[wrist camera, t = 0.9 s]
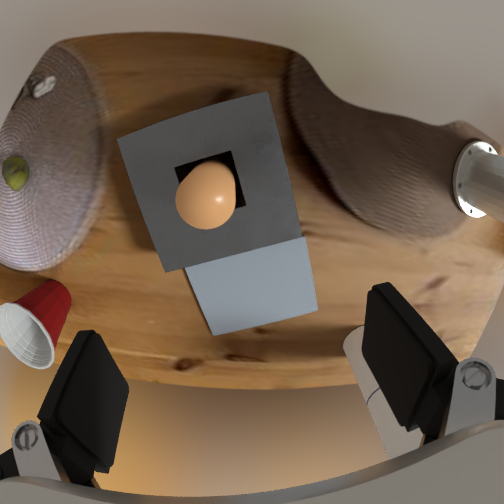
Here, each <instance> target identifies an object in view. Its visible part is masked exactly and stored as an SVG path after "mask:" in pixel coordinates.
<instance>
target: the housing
mask: <svg viewBox="0 0 504 504" xmlns="http://www.w3.org/2000/svg"><path fill="white" fill-rule="evenodd" d="M117 141H118V145H119V148H120V151H121V154H122V158H123V161H124V164H125V167H126V170H127V173H128V176H129V179H130V182H131V185H132V188H133V190H134V193H135V196H136V199H137V202H138V204H139V207H140V210H141V212H142V215H143V218H144V220H145V223H146V226H147V228H148V231H149V233H150V236H151V239H152V241H153V244H154V246H155V248H156V251H157V253H158V256H159V258H160V261H161V263H162V265H163V268H164V270H165V272H170V271H174V270H178V269H182V268H185V267H189V266H193V265H197V264H201V263H204V262H208V261H212V260H216V259H220V258H224V257H227V256H231V255H235V254H239V253H243V252H246V251H250V250H254V249H258V248H262V247H266V246H269V245H273V244H277V243H281V242H285V241H289V240H292V239H296V238H300V237H302V233H301V228H300V224H299V219H298V214H297V209H296V205H295V200H294V196H293V191H292V187H291V182H290V178H289V173H288V169H287V165H286V161H285V157H284V152H283V148H282V144H281V140H280V136H279V132H278V128H277V124H276V120H275V117H274V113H273V109H272V105H271V102H270V98H269V94H268V91H266V92H262V93H257V94H253V95H249V96H244V97H240V98H236V99H232V100H229V101H225V102H221V103H218V104H214V105H211V106H207V107H204V108H200V109H197V110H194V111H191V112H188V113H185V114H182V115H179V116H176V117H173V118H170V119H167V120H164V121H161V122H159V123H156V124H153V125H151V126H148V127H145V128H143V129H140V130H138V131H135V132H133V133H130V134H128V135H125V136H123V137H121V138H118V139H117ZM230 150H231V152H232V155H233V159H234V162H235V166H236V170H237V173H238V177H239V180H240V184H241V188H242V191H243V195H242V196H239V197H236V202H235V208H234V211H233V213H232V215H231V216H230V218H229V219H228V220H227V221H226V222H225V223H224V224H222V225H221V226H219V227H216V228H213V229H199V228H195V227H193V226H191V225H189V224H188V223H186V222H185V221H184V220H183V219H182V217H181V216H180V215H179V213H178V210H177V208H176V202H175V198H176V192H177V189H178V187H179V185H180V184H181V182H182V181H183V180H184V179H185V178H186V177H187V175H186V172H185V169H184V166H183V164H186V163H190V162H193V161H196V160H199V159H203V158H206V157H209V156H213V155H216V154H220V153H223V152H227V151H230Z"/></svg>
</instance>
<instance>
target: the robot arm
mask: <svg viewBox="0 0 504 504" xmlns="http://www.w3.org/2000/svg"><path fill="white" fill-rule="evenodd" d="M453 190H454V196H455V200H456V202H457V204H458V206H459V208H460V209H461V210H462V211H463V212H464V213H465V214H467V215H469V216H471V217H481V216H483V215H485V214H487V215H489V216H491V217H493V218H495V219H496V220H498V221H500V222H502V223H504V157H503V156H500V155H497V153H496V151H495V150H494V148H493V147H492V146H491V145H489V144H488V143H486V142H483V141H473V142H471V143H469V144H468V145H466V146H465V147H464V148H463V150H462V151H461V153H460V154H459V156H458V159H457V161H456V164H455V168H454V174H453ZM361 349H362V355H363V357H364V359H365V361H366V363H367V365H368V367H369V368H370V370H371V372H372V374H373V376H374V378H375V380H376V381H377V383H378V385H379V387H380V389H381V391H382V393H383V395H384V396H385V398H386V400H387V402H388V404H389V406H390V408H391V410H392V412H393V414H394V416H395V418H396V420H397V422H398V424H399V425H400V426H401V427H403V426H405V428H406V430H407V432H410V431H413V430H415V429H417V428H420V430H421V432H422V434H423V436H422V439H421V443H420V446H419V448H417V449H415V450H412V451H410V452H408V453H405V454H403V455H400V456H398V457H395V458H393V459H390V460H387V461H385V462H382V463H379V464H376V465H374V466H371V467H368V468H365V469H362V470H359V471H356V472H352V473H349V474H346V475H342V476H339V477H336V478H331V479H328V480H324V481H319V482H315V483H311V484H306V485H302V486H297V487H292V488H286V489H280V490H274V491H268V492H260V493H251V494H241V495H231V496H212V497H211V496H210V497H172V496H153V495H141V494H132V493H123V492H116V491H109V490H103V489H101V488H100V486H99V484H98V483H97V481H96V479H95V478H94V476H93V475H94V470H95V471H96V472H101V473H107V474H108V473H109V469H110V467H111V466H112V465H113V463H114V458H115V453H116V448H117V443H118V438H119V433H120V428H121V424H122V419H123V415H124V411H125V406H126V402H127V398H128V393H129V386H128V383H127V382H126V380H125V378H124V377H123V375H122V373H121V372H120V370H119V368H118V367H117V365H116V363H115V361H114V360H113V358H112V356H111V354H110V352H109V351H108V349H107V347H106V345H105V343H104V341H103V339H102V337H101V336H100V335H99V334H97V333H96V332H95V331H94V330H83V331H79V332H78V333H77V334H76V336H75V338H74V340H73V342H72V344H71V346H70V348H69V349H68V351H67V353H66V355H65V357H64V359H63V361H62V363H61V365H60V367H59V369H58V371H57V374H56V375H55V378H54V380H53V382H52V384H51V386H50V388H49V390H48V393H47V395H46V397H45V399H44V401H43V404H42V406H41V408H40V411H39V413H38V415H37V417H38V418H39V420H41V422H40V424H38V423H37V422H35V421H32V420H31V421H25V422H22V423H21V424H20V425H18V426H17V428H16V429H15V430H14V432H13V435H12V439H11V440H12V448H11V449H9V450H7V451H6V452H4V453H3V454H1V455H0V504H504V380H502V379H498V378H496V375H495V371H494V370H493V368H492V366H491V365H490V364H489V363H487V362H486V361H484V360H482V359H479V358H467V359H464V360H463V361H461V362H460V363H459V362H458V361H457V359H456V358H455V356H454V355H453V354H452V353H451V351H450V350H449V349H448V348H447V347H446V345H445V344H444V343H443V342H442V341H441V339H440V338H439V337H438V336H437V335H436V333H435V332H434V331H433V330H432V329H431V328H430V326H429V325H428V324H427V323H426V322H425V321H424V320H423V318H422V317H421V316H420V315H419V314H418V313H417V312H416V310H415V309H414V308H413V307H412V306H411V305H410V304H409V303H408V302H407V300H406V299H405V298H404V297H403V296H402V295H401V294H400V293H399V292H398V291H397V290H396V288H395V287H394V286H393V285H392V284H391V283H389V282H386V283H381V284H377V285H374V286H373V287H372V290H370V291H369V292H368V295H367V306H366V315H365V324H364V333H363V340H362V348H361Z"/></svg>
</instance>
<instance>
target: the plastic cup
mask: <svg viewBox="0 0 504 504" xmlns="http://www.w3.org/2000/svg"><path fill="white" fill-rule="evenodd" d="M70 306H71V296H70V293H69V292H68V290H67V288H66V287H65V286H64V285H63V284H61V283H60V282H58V281H55V280H50V281H47V282H45V283H43V284H42V285H40V286H39V287H37V288H35V289H34V290H32V291H30V292H29V293H27V294H26V295H24V296H23V297H21V298H20V299H18V300H17V301H14V302H11V303H10V302H7V303H5V304H3V305H1V306H0V336H1V338H2V340H3V341H4V343H5V344H6V346H7V347H8V349H9V350H10V351H11V352H12V353H13V354H14V355H15V356H16V357H17V358H18V359H19V360H20V361H22V362H24V363H25V364H27V365H29V366H30V367H33V368H37V369H45V368H49V367H50V365H51V364H52V363H53V361H54V351H55V347H56V345H57V340H58V338H59V335H60V333H61V330H62V328H63V325H64V323H65V320H66V316H67V314H68V312H69V309H70Z"/></svg>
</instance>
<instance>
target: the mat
mask: <svg viewBox="0 0 504 504" xmlns="http://www.w3.org/2000/svg"><path fill="white" fill-rule="evenodd" d="M185 270H186V272H187V275H188V277H189V280H190V282H191V285H192V287H193V290H194V292H195V294H196V297H197V299H198V301H199V304H200V306H201V309H202V311H203V313H204V315H205V318H206V320H207V322H208V325H209V327H210V329H211V331H212V334H213V336H216V335H220V334H225V333H230V332H234V331H239V330H243V329H247V328H252V327H256V326H260V325H264V324H268V323H272V322H276V321H280V320H284V319H288V318H292V317H295V316H299V315H303V314H307V313H310V312H314V311H317V310H318V306H317V300H316V294H315V288H314V282H313V276H312V271H311V265H310V260H309V254H308V249H307V244H306V239H305V236H304V235H302V237H300V238H296V239H292V240H289V241H285V242H281V243H277V244H273V245H269V246H266V247H262V248H258V249H254V250H250V251H246V252H243V253H239V254H235V255H231V256H227V257H224V258H220V259H216V260H212V261H208V262H204V263H201V264H197V265H193V266H189V267H185Z"/></svg>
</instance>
